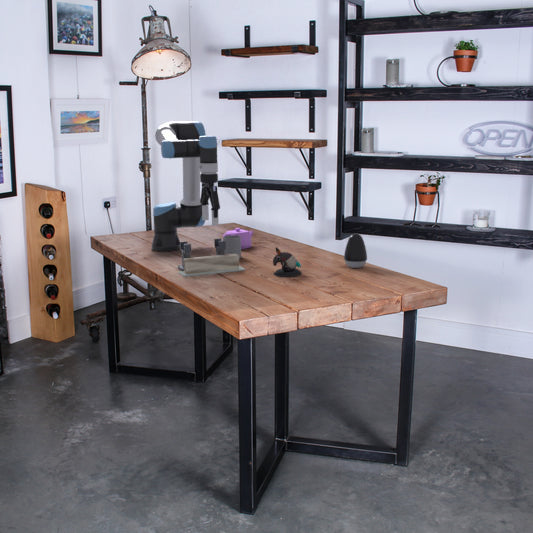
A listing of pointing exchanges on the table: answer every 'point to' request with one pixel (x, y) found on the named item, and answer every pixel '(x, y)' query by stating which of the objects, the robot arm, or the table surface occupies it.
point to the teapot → (244, 237)
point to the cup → (233, 244)
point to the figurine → (286, 264)
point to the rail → (211, 263)
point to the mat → (210, 272)
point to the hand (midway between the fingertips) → (210, 222)
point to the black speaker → (355, 252)
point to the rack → (186, 250)
